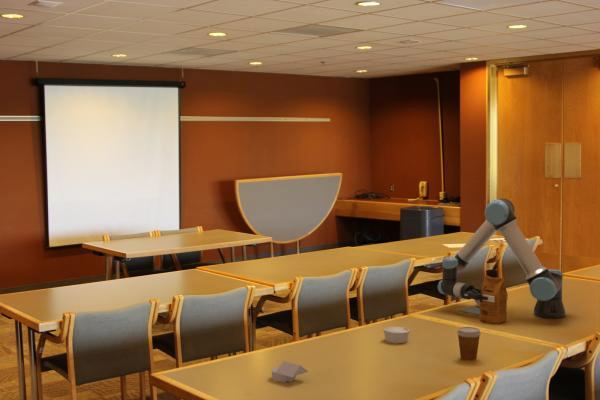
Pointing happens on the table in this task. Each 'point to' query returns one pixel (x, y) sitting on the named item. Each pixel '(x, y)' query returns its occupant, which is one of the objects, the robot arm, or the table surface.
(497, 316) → the coffee package
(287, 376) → the grey angular block
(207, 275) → the table surface
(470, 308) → the mat
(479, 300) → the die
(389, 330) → the ramekin
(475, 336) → the disposable coffee cup
